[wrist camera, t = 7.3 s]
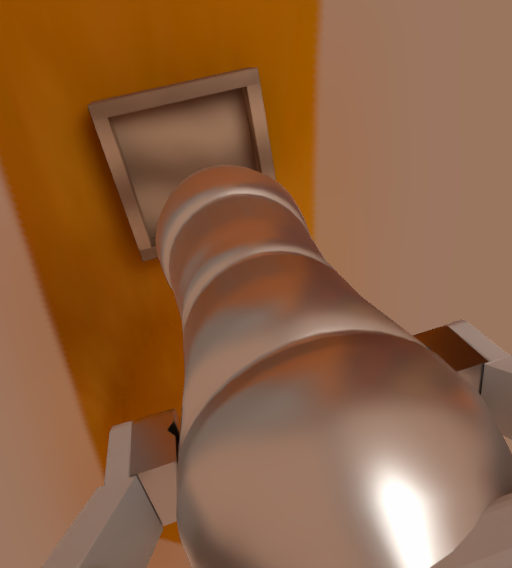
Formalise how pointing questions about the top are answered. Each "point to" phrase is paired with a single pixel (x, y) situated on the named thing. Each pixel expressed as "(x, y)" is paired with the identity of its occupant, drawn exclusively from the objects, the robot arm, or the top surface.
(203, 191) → the silver metal bottle
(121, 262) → the top surface
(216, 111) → the walnut tray
